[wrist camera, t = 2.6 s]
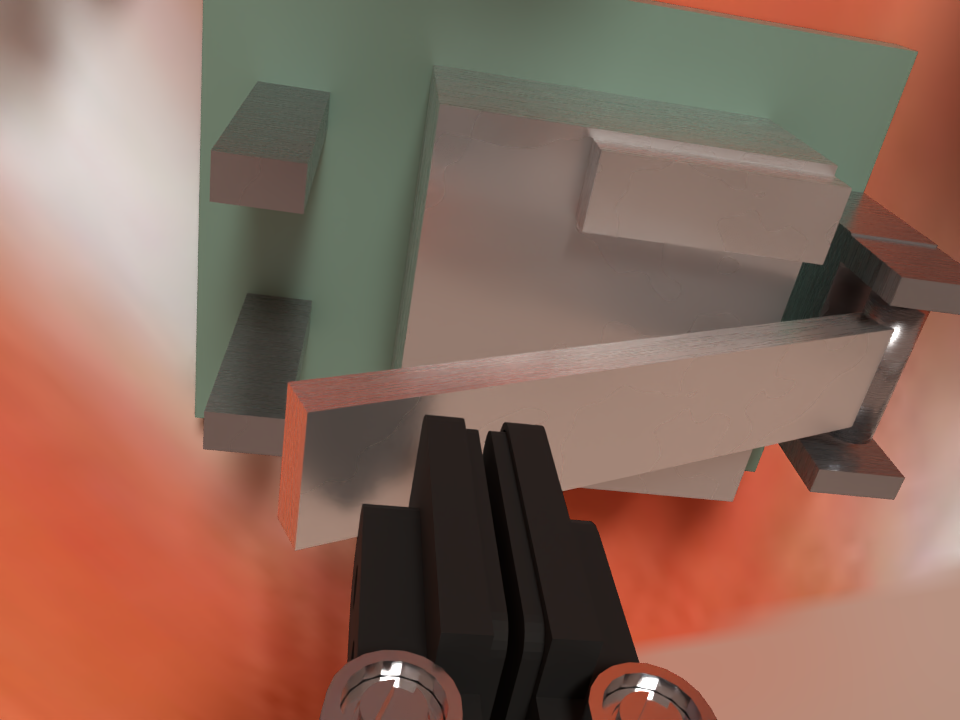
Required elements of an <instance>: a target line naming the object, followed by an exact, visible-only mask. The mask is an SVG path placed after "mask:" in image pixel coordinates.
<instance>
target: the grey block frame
mask: <svg viewBox="0 0 960 720" xmlns="http://www.w3.org/2000/svg"><path fill="white" fill-rule="evenodd" d="M329 102H330V92H325V91H319V90H312V89H306V88H299V87H293V86H286V85H280V84H273V83H267V82H260V81H257V83H256V84H255V86H254V87H253V89H252V90H251V92H250V93H249V95H248V96H247V97H246V99H245V100H244V102H243V103H242V105H241V106H240V108H239V109H238V111H237V112H236V114H235V115H234V117H233V118H232V120H231V121H230V123H229V124H228V126H227V127H226V129H225V130H224V132H223V133H222V135H221V136H220V138H219V139H218V141H217V142H216V143H215V145H214V146H213V148H212V149H211V162H210V201H209V202H216V203H224V204H231V205H239V206H246V207H254V208H261V209H269V210H276V211H284V212H291V213H299V214H304V211H305V207H306V204H307V200H308V197H309V193H310V190H311V186H312V183H313V179H314V176H315V172H316V169H317V165H318V161H319V158H320V154H321V151H322V147H323V144H324V140H325V137H326V133H327V125H328V113H329ZM837 167H838V166H837V165H836V164H834V163H833V162H831V161H830V160H828V159H827V158H826V157H824V156H823V155H821V154H820V153H818V152H817V151H815V150H814V149H812V148H811V147H809V146H808V145H807V144H805V143H804V142H802V141H801V140H799V139H798V138H796V137H795V136H793V135H792V134H791V133H789V132H788V131H786V130H785V129H783V128H782V127H780V126H779V125H777V124H776V123H775V122H773V121H772V120H770V119H768V118H762V117H756V116H750V115H743V114H737V113H731V112H725V111H718V110H712V109H706V108H700V107H694V106H687V105H681V104H675V103H669V102H663V101H656V100H650V99H644V98H638V97H632V96H625V95H619V94H613V93H607V92H601V91H594V90H588V89H582V88H576V87H570V86H563V85H557V84H551V83H545V82H539V81H532V80H526V79H520V78H514V77H508V76H501V75H495V74H489V73H483V72H477V71H470V70H464V69H458V68H452V67H446V66H439V65H433V72H432V79H431V87H430V94H429V101H428V108H427V115H426V122H425V129H424V137H423V144H422V151H421V158H420V165H419V172H418V179H417V187H416V194H415V201H414V208H413V215H412V222H411V229H410V237H409V244H408V251H407V258H406V265H405V272H404V280H403V287H402V294H401V301H400V308H399V315H398V322H397V330H396V337H395V344H394V351H393V358H392V365H391V369H399V368H407V367H416V366H424V365H432V364H440V363H448V362H456V361H465V360H473V359H481V358H489V357H497V356H506V355H514V354H522V353H530V352H538V351H546V350H555V349H563V348H571V347H579V346H587V345H596V344H604V343H612V342H620V341H628V340H637V339H645V338H653V337H661V336H669V335H677V334H686V333H694V332H702V331H710V330H718V329H727V328H735V327H743V326H751V325H759V324H767V323H776V322H784V321H792V320H800V319H808V318H816V317H825V316H833V315H841V314H849V313H857V312H862V311H863V308H864V306H865V304H866V301H867V299H868V296H869V294H870V292H871V291H872V290H873V291H874V292H875V293H877V294H878V295H879V296H880V297H881V298H882V299H883V300H884V301H885V302H887V303H888V304H889V305H890V306H896V307H904V308H912V309H919V310H927V311H935V312H942V313H950V314H958V315H960V264H959V263H958V262H957V261H955V260H954V259H952V258H951V257H950V256H948V255H947V254H945V253H944V252H942V251H941V250H940V249H938V248H937V246H938V245H937V244H935V243H934V242H932V241H931V240H930V239H928V238H927V237H925V236H924V235H922V234H921V233H920V232H918V231H917V230H915V229H914V228H913V227H911V226H910V225H908V224H907V223H905V222H904V221H903V220H901V219H900V218H898V217H897V216H896V215H894V214H893V213H891V212H890V211H889V210H887V209H886V208H884V207H883V206H881V205H880V204H879V203H877V202H876V201H874V200H873V199H872V198H870V197H869V196H867V195H866V194H864V193H862V192H855V191H851V190H852V188H851V187H849V186H848V185H847V184H845V183H844V182H842V181H841V180H840V179H838V178H837V177H835V176H834V175H835V173H836V170H837ZM311 307H312V301H311V300H303V299H294V298H286V297H278V296H269V295H261V294H252V293H247V295H246V298H245V300H244V303H243V306H242V309H241V311H240V314H239V317H238V320H237V322H236V325H235V328H234V331H233V333H232V336H231V339H230V342H229V344H228V347H227V350H226V353H225V355H224V358H223V361H222V364H221V366H220V369H219V372H218V375H217V377H216V380H215V383H214V386H213V388H212V391H211V394H210V397H209V399H208V402H207V405H206V408H205V410H204V437H203V449H207V450H218V451H229V452H239V453H250V454H261V455H272V456H282V452H283V439H284V426H285V413H286V400H287V387H288V382H293V381H300V376H301V371H302V366H303V361H304V356H305V351H306V346H307V341H308V336H309V330H310V319H311ZM778 444H779V445H780V447H781V448H782V450H783V451H784V453H785V454H786V456H787V457H788V459H789V460H790V462H791V463H792V465H793V467H794V468H795V470H796V471H797V473H798V474H799V476H800V477H801V479H802V480H803V482H804V483H805V485H806V486H807V488H808V490H809V491H810V492H818V493H829V494H839V495H850V496H860V497H871V498H881V499H892V500H894V499H895V497H896V495H897V493H898V491H899V489H900V487H901V485H902V483H903V481H904V479H905V477H904V476H903V475H902V474H901V472H900V471H899V470H898V469H897V467H896V466H895V465H894V464H893V463H892V461H891V460H890V459H889V458H888V457H887V455H886V454H885V453H884V452H883V450H882V449H881V448H880V447H879V446H878V444H877V443H876V442H875V441H874V440H873V438H872V439H871V441H870V442H869V443H867V444H861V445H859V444H851V443H847V442H844V441H841V440H838V439H836V438H834V437H832V436H830V435H829V434H827V433H822V434H818V435H813V436H809V437H804V438H800V439H795V440H791V441H786V442H782V443H778ZM751 452H752V449H750V450H746V451H741V452H737V453H732V454H728V455H723V456H719V457H714V458H710V459H705V460H701V461H696V462H692V463H687V464H683V465H678V466H674V467H669V468H665V469H660V470H656V471H651V472H647V473H642V474H638V475H633V476H629V477H624V478H620V479H615V480H611V481H606V482H602V483H597V484H593V485H588V486H584V487H579V488H589V489H600V490H611V491H622V492H633V493H644V494H655V495H666V496H676V497H687V498H698V499H709V500H720V501H731V502H733V499H734V497H735V494H736V491H737V489H738V486H739V483H740V481H741V478H742V476H743V473H744V470H745V468H746V465H747V463H748V460H749V457H750V455H751Z"/></svg>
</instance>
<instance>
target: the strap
mask: <svg viewBox="0 0 960 720" xmlns="http://www.w3.org/2000/svg"><path fill="white" fill-rule="evenodd" d="M929 312H930V311H927V310H919V309H912V308H904V307H896V306H890V305H889V304H888V303H887V302H885V301H884V300H883V299H882V298H881V297H880V296H879V295H878V294H877V293H875V292H874V291H873V290H872V291H871V292H870V294H869V296H868V299H867V301H866V304H865V306H864V308H863V311H862V312H857V313H849V314H841V315H833V316H825V317H816V318H808V319H800V320H792V321H784V322H776V323H767V324H759V325H751V326H743V327H735V328H727V329H718V330H710V331H702V332H694V333H686V334H677V335H669V336H661V337H653V338H645V339H637V340H628V341H620V342H612V343H604V344H596V345H587V346H579V347H571V348H563V349H555V350H546V351H538V352H530V353H522V354H514V355H506V356H497V357H489V358H481V359H473V360H465V361H456V362H448V363H440V364H432V365H424V366H416V367H407V368H399V369H391V370H383V371H375V372H366V373H358V374H350V375H342V376H334V377H326V378H317V379H309V380H301V381H293V382H288V387H287V400H286V413H285V426H284V439H283V452H282V465H281V478H280V491H279V504H278V519H279V521H280V523H281V525H282V526H283V528H284V530H285V532H286V534H287V536H288V538H289V540H290V542H291V544H292V546H293V548H294V550H295V551H296V550H300V549H305V548H309V547H314V546H318V545H323V544H327V543H332V542H336V541H341V540H345V539H350V538H354V537H357V536H358V528H359V521H360V514H361V508H362V504H375V505H388V506H401V507H408V506H409V500H410V494H411V488H412V482H413V476H414V470H415V464H416V458H417V452H418V446H419V440H420V434H421V428H422V422H423V418H424V416H425V414H427V415H437V416H448V417H458V418H464V420H465V425H466V429H476V430H478V431H479V436H480V443H481V449H482V454H483V449H484V445H485V440H486V436H487V433H488V432H489V431H498V432H500V430H501V427H502V425H503V423H504V422H511V423H522V424H532V425H542V426H544V428H545V431H546V434H547V438H548V441H549V445H550V449H551V452H552V456H553V460H554V463H555V467H556V471H557V474H558V478H559V481H560V485H561V489H562V491H566V490H570V489H575V488H579V487H584V486H588V485H593V484H597V483H602V482H606V481H611V480H615V479H620V478H624V477H629V476H633V475H638V474H642V473H647V472H651V471H656V470H660V469H665V468H669V467H674V466H678V465H683V464H687V463H692V462H696V461H701V460H705V459H710V458H714V457H719V456H723V455H728V454H732V453H737V452H741V451H746V450H750V449H755V448H759V447H764V446H768V445H773V444H777V443H782V442H786V441H791V440H795V439H800V438H804V437H809V436H813V435H818V434H822V433H827V434H829V435H830V436H832V437H834V438H836V439H838V440H841V441H844V442H847V443H851V444H859V445H861V444H867V443H869V442H870V441H871V439H872V437H873V435H874V433H875V431H876V428H877V426H878V424H879V422H880V420H881V417H882V415H883V413H884V411H885V409H886V407H887V404H888V402H889V400H890V398H891V396H892V393H893V391H894V389H895V387H896V385H897V382H898V380H899V378H900V376H901V374H902V371H903V369H904V367H905V365H906V363H907V360H908V358H909V356H910V354H911V352H912V349H913V347H914V345H915V343H916V341H917V339H918V336H919V334H920V332H921V330H922V328H923V325H924V323H925V321H926V319H927V317H928V314H929Z"/></svg>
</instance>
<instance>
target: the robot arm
mask: <svg viewBox="0 0 960 720" xmlns="http://www.w3.org/2000/svg"><path fill="white" fill-rule="evenodd" d="M319 720H717V719H716V717H715V715H714V713H713V711H712V709H711V708H710V706H709V705H708V704H707V702H706V701H705V699H704V698H703V697H702V695H701V694H700V693H699V692H698V691H697V690H696V689H695V688H694V687H692V686H691V685H690V684H689V683H688V682H687V681H685V680H684V679H683V678H681V677H679V676H677V675H676V674H674V673H672V672H670V671H668V670H667V669H664V668H660V667H657V666H654V665H651V664H647V663H639V660H638V657H637V654H636V651H635V647H634V644H633V641H632V638H631V635H630V631H629V628H628V625H627V622H626V619H625V615H624V612H623V609H622V606H621V603H620V599H619V596H618V593H617V590H616V586H615V583H614V580H613V577H612V574H611V570H610V567H609V564H608V561H607V558H606V554H605V551H604V548H603V545H602V542H601V538H600V535H599V532H598V530H597V528H596V526H595V524H594V523H593V522H591V521H581V520H570V518H569V514H568V511H567V507H566V503H565V500H564V496H563V492H562V489H561V485H560V481H559V478H558V474H557V471H556V467H555V463H554V460H553V456H552V452H551V449H550V445H549V441H548V438H547V434H546V431H545V428H544V426H542V425H532V424H522V423H511V422H504V423H503V425H502V427H501V430H500V432H498V431H489V432H488V433H487V436H486V440H485V445H484V449H483V454H482V449H481V443H480V436H479V431H478V430H476V429H466V425H465V420H464V418H458V417H448V416H437V415H427V414H425V416H424V418H423V422H422V428H421V434H420V440H419V446H418V452H417V458H416V464H415V470H414V476H413V482H412V488H411V494H410V500H409V506H408V507H401V506H388V505H375V504H362V508H361V514H360V521H359V528H358V536H357V543H356V551H355V560H354V569H353V579H352V591H351V604H350V622H349V641H348V660H347V664H345V665H344V666H343V667H342V668H341V669H340V670H339V671H338V672H337V673H336V674H335V675H334V677H333V679H332V682H331V684H330V686H329V688H328V690H327V692H326V696H325V700H324V704H323V708H322V711H321V715H320V719H319Z"/></svg>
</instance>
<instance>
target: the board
mask: <svg viewBox="0 0 960 720" xmlns="http://www.w3.org/2000/svg"><path fill="white" fill-rule="evenodd" d="M917 54H918V52H917V51H914V50H911V49H909V48H906V47H903V46H900V45H897V44H892V43H887V42H881V41H875V40H870V39H864V38H859V37H853V36H847V35H842V34H836V33H831V32H825V31H819V30H814V29H808V28H803V27H797V26H791V25H786V24H780V23H775V22H769V21H763V20H758V19H752V18H747V17H741V16H735V15H730V14H724V13H719V12H713V11H707V10H702V9H696V8H691V7H685V6H679V5H674V4H668V3H663V2H657V1H652V0H203V38H202V88H201V139H200V190H199V240H198V291H197V342H196V393H195V417H197V418H204V410H205V408H206V405H207V402H208V399H209V397H210V394H211V391H212V388H213V386H214V383H215V380H216V377H217V375H218V372H219V369H220V366H221V364H222V361H223V358H224V355H225V353H226V350H227V347H228V344H229V342H230V339H231V336H232V333H233V331H234V328H235V325H236V322H237V320H238V317H239V314H240V311H241V309H242V306H243V303H244V300H245V298H246V295H247V293H252V294H261V295H269V296H278V297H286V298H294V299H303V300H311V301H312V307H311V319H310V330H309V336H308V341H307V346H306V351H305V356H304V361H303V366H302V371H301V376H300V381H301V380H309V379H317V378H326V377H334V376H342V375H350V374H358V373H366V372H375V371H383V370H391V365H392V358H393V351H394V344H395V337H396V330H397V322H398V315H399V308H400V301H401V294H402V287H403V280H404V272H405V265H406V258H407V251H408V244H409V237H410V229H411V222H412V215H413V208H414V201H415V194H416V187H417V179H418V172H419V165H420V158H421V151H422V144H423V137H424V129H425V122H426V115H427V108H428V101H429V94H430V87H431V79H432V72H433V65H439V66H446V67H452V68H458V69H464V70H470V71H477V72H483V73H489V74H495V75H501V76H508V77H514V78H520V79H526V80H532V81H539V82H545V83H551V84H557V85H563V86H570V87H576V88H582V89H588V90H594V91H601V92H607V93H613V94H619V95H625V96H632V97H638V98H644V99H650V100H656V101H663V102H669V103H675V104H681V105H687V106H694V107H700V108H706V109H712V110H718V111H725V112H731V113H737V114H743V115H750V116H756V117H762V118H768V119H770V120H772V121H773V122H775V123H776V124H777V125H779V126H780V127H782V128H783V129H785V130H786V131H788V132H789V133H791V134H792V135H793V136H795V137H796V138H798V139H799V140H801V141H802V142H804V143H805V144H807V145H808V146H809V147H811V148H812V149H814V150H815V151H817V152H818V153H820V154H821V155H823V156H824V157H826V158H827V159H828V160H830V161H831V162H833V163H834V164H836V165H837V166H838V167H837V170H836V173H835V175H834V176H835V177H837V178H838V179H840V180H841V181H842V182H844V183H845V184H847V185H848V186H849V187H851V188H852V190H851V191H855V192H862V193H864V190H865V187H866V185H867V182H868V180H869V177H870V175H871V172H872V169H873V167H874V164H875V162H876V159H877V157H878V154H879V151H880V149H881V146H882V144H883V141H884V139H885V136H886V133H887V131H888V128H889V126H890V123H891V121H892V118H893V115H894V113H895V110H896V108H897V105H898V103H899V100H900V97H901V95H902V92H903V90H904V87H905V85H906V82H907V79H908V77H909V74H910V72H911V69H912V67H913V64H914V61H915V59H916V56H917ZM257 81H260V82H267V83H273V84H280V85H286V86H293V87H299V88H306V89H312V90H319V91H325V92H330V102H329V113H328V125H327V133H326V137H325V140H324V144H323V147H322V151H321V154H320V158H319V161H318V165H317V169H316V172H315V176H314V179H313V183H312V186H311V190H310V193H309V197H308V200H307V204H306V207H305V211H304V214H299V213H291V212H284V211H276V210H269V209H261V208H254V207H246V206H239V205H231V204H224V203H216V202H209V201H210V162H211V149H212V148H213V146H214V145H215V143H216V142H217V141H218V139H219V138H220V136H221V135H222V133H223V132H224V130H225V129H226V127H227V126H228V124H229V123H230V121H231V120H232V118H233V117H234V115H235V114H236V112H237V111H238V109H239V108H240V106H241V105H242V103H243V102H244V100H245V99H246V97H247V96H248V95H249V93H250V92H251V90H252V89H253V87H254V86H255V84H256V83H257ZM764 447H765V446H764ZM764 447H759V448H755V449H752V452H751V455H750V457H749V460H748V463H747V465H746V468H745V470H744V471H751V472H755V470H756V468H757V465H758V463H759V460H760V457H761V455H762V452H763V450H764Z"/></svg>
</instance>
